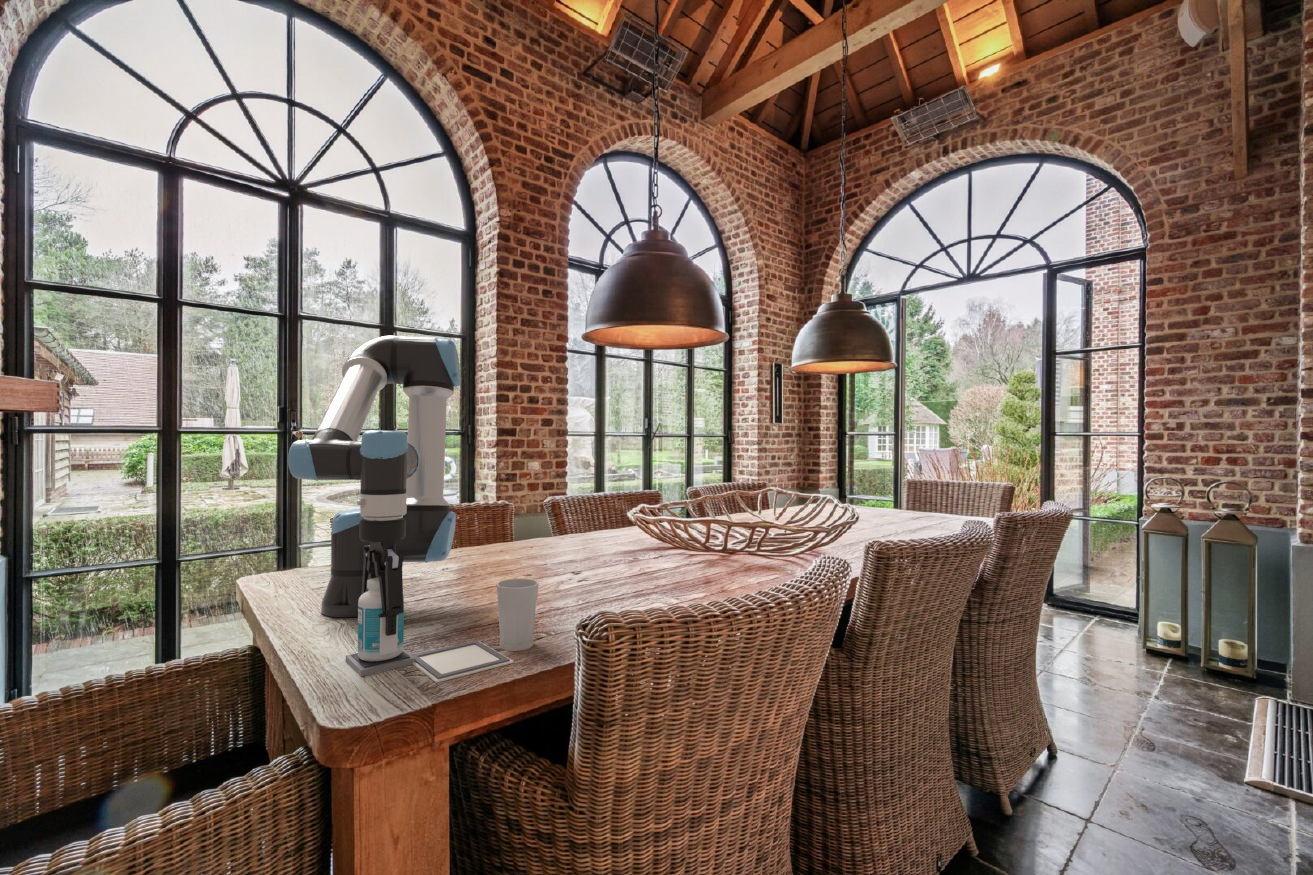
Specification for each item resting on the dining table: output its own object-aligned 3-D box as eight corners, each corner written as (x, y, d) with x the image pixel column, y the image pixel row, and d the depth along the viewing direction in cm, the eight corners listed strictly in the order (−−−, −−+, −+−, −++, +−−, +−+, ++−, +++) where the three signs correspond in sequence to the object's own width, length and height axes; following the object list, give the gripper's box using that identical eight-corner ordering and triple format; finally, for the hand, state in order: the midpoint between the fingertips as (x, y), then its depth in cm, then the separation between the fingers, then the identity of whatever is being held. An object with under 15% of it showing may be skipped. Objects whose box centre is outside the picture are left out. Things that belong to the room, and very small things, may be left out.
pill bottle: (412, 651, 109) (413, 576, 109) (381, 665, 102) (383, 585, 102) (379, 646, 112) (381, 573, 112) (347, 659, 105) (348, 581, 105)
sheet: (405, 658, 109) (405, 655, 109) (478, 642, 118) (478, 639, 118) (436, 682, 98) (436, 679, 98) (513, 662, 108) (513, 659, 108)
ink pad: (345, 660, 107) (345, 654, 107) (397, 649, 113) (397, 643, 113) (360, 676, 100) (361, 669, 100) (415, 663, 106) (415, 656, 106)
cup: (499, 638, 121) (500, 578, 121) (539, 638, 121) (540, 578, 121) (491, 652, 113) (493, 588, 113) (535, 651, 113) (536, 588, 113)
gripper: (343, 513, 112) (341, 636, 112) (379, 525, 97) (376, 668, 97) (386, 510, 117) (383, 628, 117) (426, 522, 102) (423, 657, 102)
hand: (380, 646), depth 107 cm, fingers closed on pill bottle, 7 cm apart
